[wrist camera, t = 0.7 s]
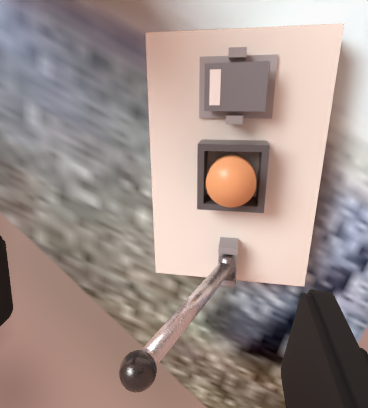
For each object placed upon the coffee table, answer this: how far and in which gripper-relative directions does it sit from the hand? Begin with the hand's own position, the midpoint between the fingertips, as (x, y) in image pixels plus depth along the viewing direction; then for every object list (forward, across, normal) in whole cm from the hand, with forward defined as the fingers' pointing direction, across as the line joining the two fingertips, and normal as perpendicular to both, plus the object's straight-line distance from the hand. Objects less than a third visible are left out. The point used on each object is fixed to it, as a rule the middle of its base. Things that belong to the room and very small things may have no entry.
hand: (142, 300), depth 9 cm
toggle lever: (+16, -3, +8) cm, 18 cm away
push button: (+16, -2, 0) cm, 16 cm away
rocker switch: (+16, -2, -7) cm, 17 cm away
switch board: (+20, -2, 0) cm, 21 cm away
